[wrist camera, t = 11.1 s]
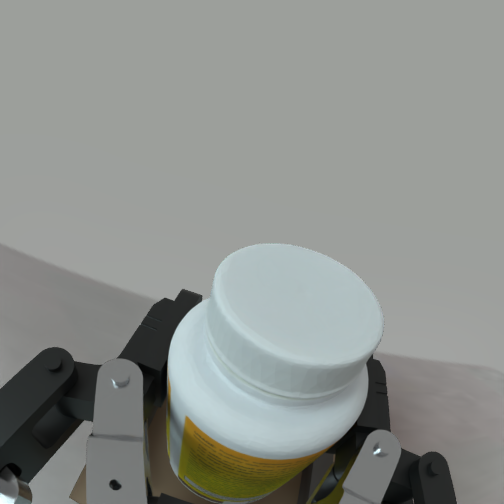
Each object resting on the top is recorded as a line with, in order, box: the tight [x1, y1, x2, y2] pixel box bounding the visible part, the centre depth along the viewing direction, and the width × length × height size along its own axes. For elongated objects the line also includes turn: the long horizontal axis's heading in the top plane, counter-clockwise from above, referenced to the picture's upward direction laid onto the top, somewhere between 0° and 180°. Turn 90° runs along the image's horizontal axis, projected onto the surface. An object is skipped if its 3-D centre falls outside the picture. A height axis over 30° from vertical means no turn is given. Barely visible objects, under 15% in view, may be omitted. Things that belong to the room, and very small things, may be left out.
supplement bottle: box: [166, 243, 384, 504], centre depth 9 cm, size 6×6×10 cm
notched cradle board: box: [69, 396, 335, 504], centre depth 12 cm, size 12×11×2 cm
